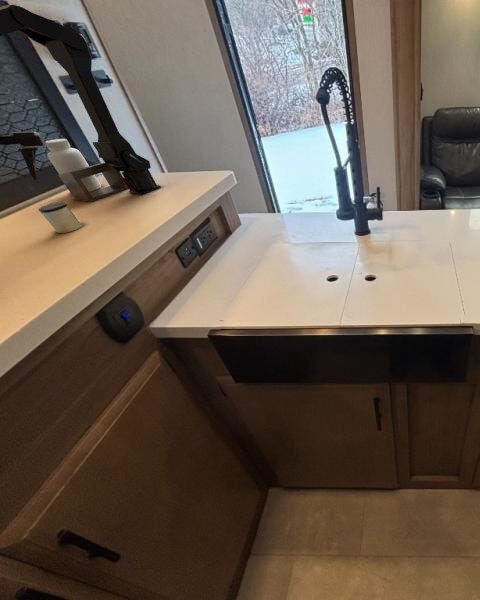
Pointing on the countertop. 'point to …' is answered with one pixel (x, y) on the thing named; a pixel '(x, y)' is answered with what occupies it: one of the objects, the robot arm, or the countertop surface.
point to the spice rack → (74, 177)
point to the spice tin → (60, 217)
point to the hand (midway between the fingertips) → (8, 182)
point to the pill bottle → (69, 161)
